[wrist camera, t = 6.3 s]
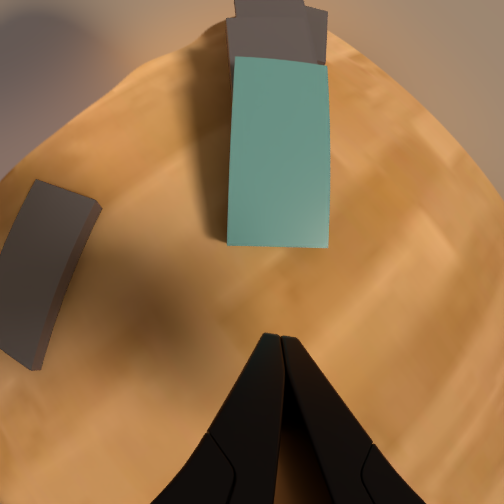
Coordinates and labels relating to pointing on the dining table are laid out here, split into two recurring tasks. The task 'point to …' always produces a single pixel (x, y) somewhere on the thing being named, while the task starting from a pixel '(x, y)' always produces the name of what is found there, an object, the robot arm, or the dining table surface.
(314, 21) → the domino
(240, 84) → the domino
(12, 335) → the domino
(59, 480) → the dining table surface
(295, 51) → the domino
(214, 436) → the robot arm
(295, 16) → the domino
